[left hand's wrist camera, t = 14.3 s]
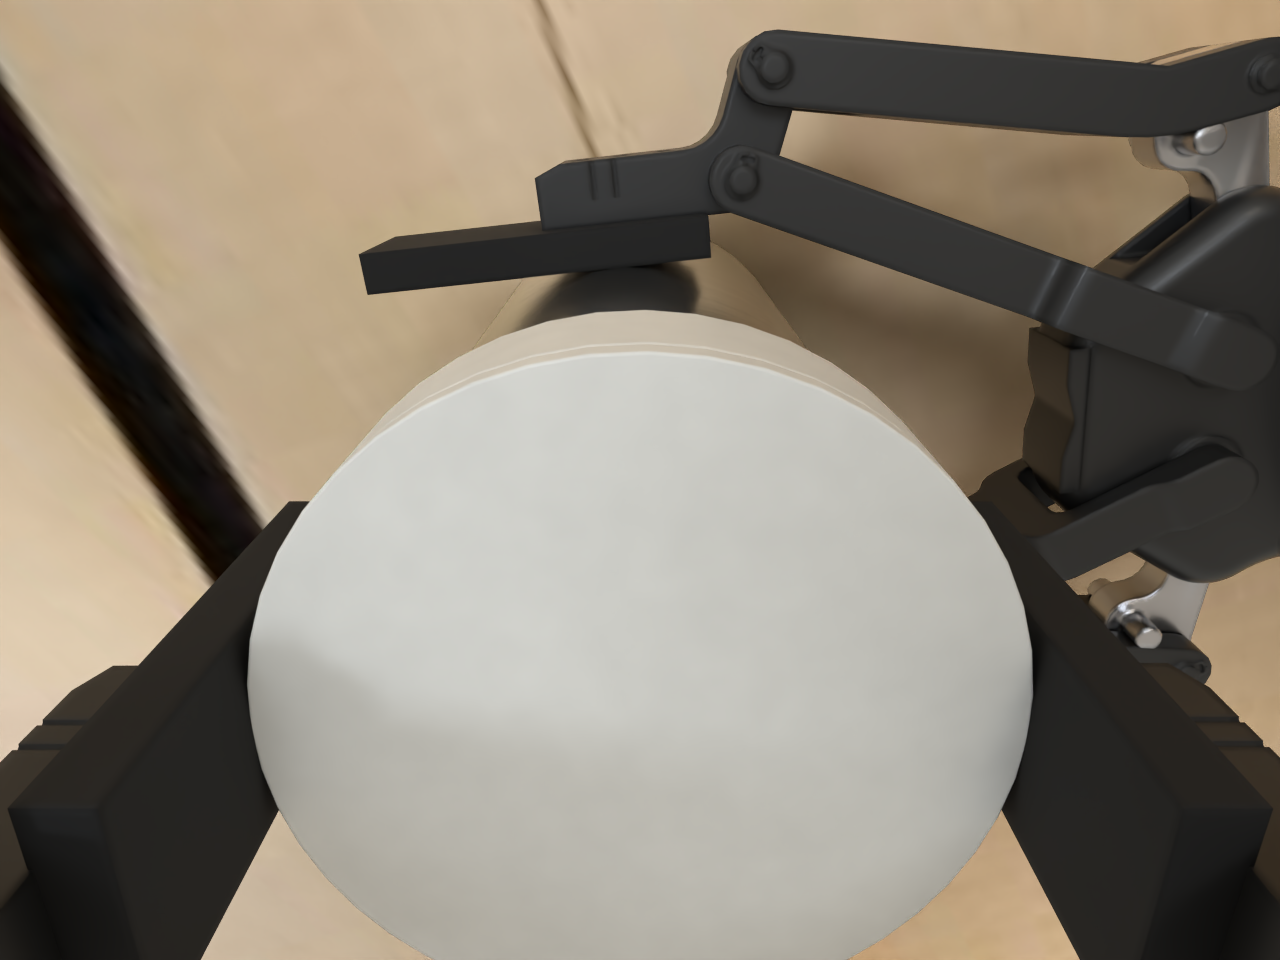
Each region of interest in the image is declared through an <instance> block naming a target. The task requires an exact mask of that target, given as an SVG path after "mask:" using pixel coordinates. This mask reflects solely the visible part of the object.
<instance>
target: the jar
mask: <svg viewBox="0 0 1280 960" xmlns="http://www.w3.org/2000/svg"><path fill="white" fill-rule="evenodd" d="M710 246H711V258H706V259H696V260H687V261H678V262H668V263H659V264H650V265H641V266H631V267H620V268H613V269H603V270H594V271H585V272H575V273H566V274H557V275H547V276H538V277H529V278H524V279H523V280H522V282H521V283H520V285H519V286H518V287H517V289H516V290H515V291H514V293H513V294H512V296H511V297H510V298H509V300H508V301H507V302H506V304H505V305H504V307H503V308H502V309H501V311H500V312H499V313H498V315H497V316H496V317H495V319H494V320H493V322H492V323H491V324H490V326H489V327H488V328H487V330H486V331H485V333H484V334H483V335H482V337H481V338H480V339H479V341H478V342H477V344H476V345H475V346H474V348H473V349H472V350H474V349H476V348H478V347H480V346H482V345H484V344H487V343H489V342H491V341H493V340H495V339H497V338H499V337H501V336H504V335H507V334H510V333H513V332H516V331H520V330H523V329H526V328H529V327H532V326H535V325H538V324H541V323H544V322H547V321H552V320H558V319H563V318H569V317H574V316H580V315H585V314H591V313H596V312H615V311H635V310H653V311H665V312H678V313H690V314H698V315H703V316H707V317H712V318H717V319H721V320H726V321H731V322H735V323H740V324H744V325H747V326H750V327H753V328H756V329H758V330H761V331H764V332H767V333H769V334H772V335H775V336H778V337H781V338H783V339H786V340H789V341H791V342H793V343H795V344H797V345H799V346H801V347H803V348H804V349H806V350H808V349H807V348H806V347H805V345H804V344H803V343H802V341H801V340H800V338H799V337H798V336H797V334H796V333H795V332H794V330H793V329H792V327H791V326H790V325H789V323H788V322H787V321H786V319H785V318H784V317H783V315H782V314H781V312H780V311H779V310H778V308H777V307H776V306H775V304H774V303H773V301H772V300H771V299H770V297H769V296H768V295H767V293H766V292H765V290H764V289H763V288H762V286H761V285H760V284H759V282H758V281H757V280H756V278H755V277H754V276H753V275H752V273H751V272H750V271H749V270H748V269H747V268H746V267H745V266H744V265H743V264H742V263H741V262H740V261H739V260H737V259H736V258H735V257H733V256H732V255H731V254H730V253H728V252H727V251H726V250H724V249H723V248H721V247H720V246H718V245H716V244H714V243H713V242H711V241H710ZM472 350H471V351H472Z"/></svg>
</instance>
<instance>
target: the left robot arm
mask: <svg viewBox="0 0 1280 960" xmlns="http://www.w3.org/2000/svg"><path fill="white" fill-rule="evenodd" d="M309 502H310V501H289V502H288V503H287V504H286V505H285V507H284V508H283V509H282V510H281V511H280V512H279V513H278V514H277V515H276V516H275V517H274V518H273V520H272V521H271V522H270V523H269V524H268V525H267V526H266V527H265V528H264V529H263V530H262V532H261V533H260V534H259V535H258V536H257V537H256V538H255V539H254V540H253V541H252V542H251V544H250V545H249V546H248V547H247V548H246V549H245V550H244V551H243V552H242V553H241V554H240V556H239V557H238V558H237V559H236V560H235V561H234V562H233V563H232V564H231V565H230V566H229V567H228V569H227V570H226V571H225V572H224V573H223V574H222V575H221V576H220V577H219V578H218V579H217V581H216V582H215V583H214V584H213V585H212V586H211V587H210V588H209V589H208V590H207V591H206V593H205V594H204V595H203V596H202V597H201V598H200V599H199V600H198V601H197V602H196V603H195V605H194V606H193V607H192V608H191V609H190V610H189V611H188V612H187V613H186V614H185V615H184V616H183V618H182V619H181V620H180V621H179V622H178V623H177V624H176V625H175V626H174V627H173V628H172V630H171V631H170V632H169V633H168V634H167V635H166V636H165V637H164V638H163V639H162V640H161V642H160V643H159V644H158V645H157V646H156V647H155V648H154V649H153V650H152V651H151V652H150V654H149V655H148V656H147V657H146V658H145V659H144V660H143V661H142V662H141V663H140V664H139V665H138V666H112V667H110V668H109V669H107V670H105V671H104V672H102V673H100V674H99V675H97V676H95V677H94V678H92V679H90V680H89V681H87V682H85V683H84V684H82V685H80V686H79V687H77V688H75V689H74V690H72V691H71V692H70V693H69V694H68V695H67V696H66V697H65V698H64V699H63V700H62V701H61V702H60V703H59V704H58V705H57V706H56V707H55V708H54V709H53V710H52V711H51V712H50V713H49V714H48V715H47V716H46V717H45V718H44V719H43V724H42V726H36V727H35V728H34V729H33V730H32V731H31V732H30V733H29V734H28V735H27V736H26V737H25V738H24V739H23V740H22V741H21V742H20V743H19V748H18V750H12V751H11V752H10V753H9V754H8V755H7V756H6V757H5V758H4V759H3V760H2V761H1V762H0V960H201V958H202V956H203V954H204V952H205V950H206V948H207V947H208V945H209V943H210V941H211V939H212V937H213V935H214V933H215V931H216V929H217V927H218V926H219V924H220V922H221V920H222V918H223V916H224V914H225V912H226V910H227V908H228V906H229V904H230V903H231V901H232V899H233V897H234V895H235V893H236V891H237V889H238V887H239V885H240V883H241V882H242V880H243V878H244V876H245V874H246V872H247V870H248V868H249V866H250V864H251V862H252V860H253V859H254V857H255V855H256V853H257V851H258V849H259V847H260V845H261V843H262V841H263V839H264V838H265V836H266V834H267V832H268V830H269V828H270V826H271V824H272V822H273V820H274V818H275V816H276V815H277V813H278V811H279V809H278V807H277V805H276V802H275V800H274V797H273V795H272V793H271V790H270V788H269V785H268V783H267V781H266V778H265V776H264V773H263V771H262V768H261V764H260V761H259V757H258V753H257V749H256V744H255V739H254V734H253V729H252V724H251V718H250V710H249V700H248V689H247V677H248V661H249V645H250V637H251V632H252V628H253V624H254V619H255V615H256V610H257V606H258V602H259V597H260V594H261V592H262V589H263V587H264V584H265V582H266V579H267V577H268V574H269V572H270V569H271V567H272V564H273V562H274V559H275V557H276V554H277V552H278V550H279V549H280V547H281V545H282V544H283V542H284V540H285V539H286V537H287V535H288V534H289V532H290V530H291V529H292V527H293V525H294V524H295V522H296V520H297V519H298V517H299V515H300V514H301V512H302V511H303V509H304V508H305V507H306V506H307V505H308V503H309ZM970 502H971V503H972V504H973V506H974V507H975V508H976V510H977V511H978V512H979V513H980V515H981V516H982V517H983V519H984V520H985V522H986V523H987V525H988V527H989V529H990V531H991V532H992V534H993V536H994V538H995V540H996V541H997V543H998V545H999V547H1000V549H1001V551H1002V552H1003V554H1004V556H1005V558H1006V560H1007V561H1008V564H1009V566H1010V569H1011V572H1012V575H1013V578H1014V580H1015V583H1016V586H1017V589H1018V591H1019V594H1020V597H1021V600H1022V602H1023V605H1024V610H1025V615H1026V621H1027V626H1028V631H1029V637H1030V642H1031V647H1032V669H1033V700H1032V707H1031V715H1030V721H1029V727H1028V732H1027V738H1026V743H1025V747H1024V751H1023V755H1022V758H1021V762H1020V765H1019V768H1018V772H1017V775H1016V779H1015V781H1014V783H1013V785H1012V787H1011V790H1010V792H1009V794H1008V796H1007V798H1006V800H1005V803H1004V805H1003V807H1002V809H1001V810H1002V812H1003V813H1004V815H1005V817H1006V819H1007V821H1008V823H1009V825H1010V827H1011V829H1012V831H1013V833H1014V835H1015V836H1016V838H1017V840H1018V842H1019V844H1020V846H1021V848H1022V850H1023V852H1024V854H1025V856H1026V857H1027V859H1028V861H1029V863H1030V865H1031V867H1032V869H1033V871H1034V873H1035V875H1036V877H1037V879H1038V880H1039V882H1040V884H1041V886H1042V888H1043V890H1044V892H1045V894H1046V896H1047V898H1048V900H1049V901H1050V903H1051V905H1052V907H1053V909H1054V911H1055V913H1056V915H1057V917H1058V919H1059V921H1060V923H1061V924H1062V926H1063V928H1064V930H1065V932H1066V934H1067V936H1068V938H1069V940H1070V942H1071V944H1072V945H1073V947H1074V949H1075V951H1076V953H1077V955H1078V957H1079V959H1080V960H1280V757H1279V756H1278V755H1277V754H1276V753H1275V752H1274V751H1273V750H1272V749H1271V748H1270V747H1264V746H1263V740H1262V739H1261V738H1260V737H1259V736H1258V735H1257V734H1256V733H1255V732H1254V731H1253V730H1252V729H1251V728H1250V727H1249V726H1248V725H1247V724H1246V723H1240V722H1239V716H1238V715H1237V714H1236V713H1235V712H1234V711H1233V710H1232V709H1231V708H1230V707H1229V706H1228V705H1227V704H1226V703H1225V702H1224V701H1223V700H1222V699H1221V698H1220V697H1219V696H1218V695H1217V694H1216V693H1215V692H1214V691H1213V690H1212V689H1211V688H1209V687H1208V686H1206V685H1204V684H1203V683H1201V682H1199V681H1198V680H1196V679H1194V678H1193V677H1191V676H1189V675H1187V674H1186V673H1184V672H1182V671H1181V670H1179V669H1177V668H1176V667H1174V666H1172V665H1171V664H1169V663H1139V662H1138V660H1137V659H1136V658H1135V657H1134V656H1133V655H1132V654H1131V653H1130V652H1129V651H1128V650H1127V648H1126V647H1125V646H1124V645H1123V644H1122V643H1121V642H1120V641H1119V640H1118V639H1117V638H1116V636H1115V635H1114V634H1113V633H1112V632H1111V631H1110V630H1109V629H1108V628H1107V627H1106V626H1105V625H1104V623H1103V622H1102V621H1101V620H1100V619H1099V618H1098V617H1097V616H1096V615H1095V614H1094V613H1093V611H1092V610H1091V609H1090V608H1089V607H1088V606H1087V605H1086V604H1085V603H1084V602H1083V601H1082V599H1081V598H1080V597H1079V596H1078V595H1077V594H1076V593H1075V592H1074V591H1073V590H1072V589H1071V587H1070V586H1069V585H1068V584H1067V583H1066V582H1065V581H1064V580H1063V579H1062V578H1061V577H1060V575H1059V574H1058V573H1057V572H1056V571H1055V570H1054V569H1053V568H1052V567H1051V566H1050V565H1049V564H1048V562H1047V561H1046V560H1045V559H1044V558H1043V557H1042V556H1041V555H1040V554H1039V553H1038V552H1037V550H1036V549H1035V548H1034V547H1033V546H1032V545H1031V544H1030V543H1029V542H1028V541H1027V540H1026V538H1025V537H1024V536H1023V535H1022V534H1021V533H1020V532H1019V531H1018V530H1017V529H1016V528H1015V526H1014V525H1013V524H1012V523H1011V522H1010V521H1009V520H1008V519H1007V518H1006V517H1005V516H1004V515H1003V513H1002V512H1001V511H1000V510H999V509H998V508H997V507H996V506H995V505H994V504H993V503H992V501H970Z"/></svg>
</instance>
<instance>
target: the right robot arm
mask: <svg viewBox="0 0 1280 960" xmlns="http://www.w3.org/2000/svg"><path fill="white" fill-rule="evenodd" d="M1278 106H1280V37H1271V38H1262V39H1254V40H1247V41H1239V42H1231V43H1224V44H1216V45H1208V46H1201V47H1193V48H1188V49H1184V50H1181V51H1177V52H1173V53H1170V54H1166V55H1163V56H1159V57H1156V58H1152V59H1149V60H1145V61H1142V62H1138V63H1134V62H1123V61H1112V60H1101V59H1091V58H1080V57H1069V56H1058V55H1047V54H1036V53H1026V52H1015V51H1004V50H993V49H982V48H971V47H961V46H950V45H939V44H928V43H917V42H906V41H896V40H885V39H874V38H863V37H852V36H841V35H831V34H820V33H809V32H798V31H787V30H772V31H764V32H763V33H761V34H759V35H758V36H755V37H754V38H753V39H751V40H750V41H748V42H747V43H746V44H744V45H743V46H741V47H740V48H739V49H738V50H737V51H736V52H735V54H734V55H733V56H732V58H731V59H730V62H729V66H728V69H727V79H726V82H725V86H724V90H723V94H722V98H721V102H720V106H719V109H718V113H717V116H716V119H715V122H714V124H713V126H712V128H711V129H710V131H709V132H708V133H707V134H706V135H705V136H704V137H703V138H702V139H701V140H700V141H698V142H696V143H694V144H693V145H691V146H687V147H682V148H675V149H666V150H657V151H648V152H639V153H630V154H622V155H613V156H604V157H596V158H586V159H577V160H568V161H564V162H563V163H561V164H559V165H557V166H556V167H554V168H552V169H550V170H549V171H547V172H545V173H543V174H542V175H540V176H538V177H536V178H535V182H536V190H537V197H538V204H539V211H540V218H541V221H535V222H526V223H517V224H508V225H499V226H489V227H480V228H471V229H462V230H453V231H444V232H435V233H426V234H417V235H407V236H398V237H394V238H392V239H390V240H388V241H386V242H384V243H382V244H379V245H377V246H375V247H373V248H371V249H369V250H367V251H365V252H363V253H361V254H359V257H360V262H361V267H362V271H363V276H364V281H365V285H366V290H367V294H368V295H371V294H380V293H389V292H399V291H408V290H417V289H426V288H436V287H445V286H454V285H464V284H473V283H482V282H492V281H501V280H510V279H520V278H529V277H538V276H547V275H557V274H566V273H575V272H585V271H594V270H603V269H613V268H620V267H631V266H641V265H650V264H659V263H668V262H678V261H687V260H696V259H706V258H711V246H710V232H709V219H708V215H713V214H722V213H733V214H736V215H739V216H742V217H745V218H747V219H750V220H753V221H756V222H759V223H762V224H765V225H767V226H770V227H773V228H776V229H779V230H782V231H785V232H787V233H790V234H793V235H796V236H799V237H802V238H805V239H807V240H810V241H813V242H816V243H819V244H822V245H824V246H827V247H830V248H833V249H836V250H839V251H842V252H844V253H847V254H850V255H853V256H856V257H859V258H862V259H864V260H867V261H870V262H873V263H876V264H879V265H882V266H884V267H887V268H890V269H893V270H896V271H899V272H902V273H904V274H907V275H910V276H913V277H916V278H919V279H922V280H924V281H927V282H930V283H933V284H936V285H939V286H941V287H944V288H947V289H950V290H953V291H956V292H959V293H961V294H964V295H967V296H970V297H973V298H976V299H979V300H981V301H984V302H987V303H990V304H993V305H996V306H999V307H1001V308H1004V309H1007V310H1010V311H1013V312H1016V313H1019V314H1021V315H1024V316H1027V317H1030V318H1032V319H1035V320H1037V321H1040V322H1042V323H1041V326H1040V327H1034V328H1029V347H1028V365H1029V370H1030V374H1031V378H1032V383H1033V387H1034V391H1035V397H1034V401H1033V404H1032V407H1031V410H1030V413H1029V416H1028V419H1027V422H1026V425H1025V428H1024V438H1023V456H1022V458H1021V459H1019V460H1017V461H1015V462H1013V463H1011V464H1009V465H1007V466H1005V467H1003V468H1002V469H1000V470H998V471H996V472H994V473H992V474H991V475H989V476H987V477H986V478H985V480H984V481H983V482H982V484H981V487H980V489H979V490H978V491H977V492H976V493H975V494H973V495H971V496H969V497H967V498H968V499H969V501H992V503H993V504H994V505H995V506H996V507H997V508H998V509H999V510H1000V511H1001V512H1002V513H1003V515H1004V516H1005V517H1006V518H1007V519H1008V520H1009V521H1010V522H1011V523H1012V524H1013V525H1014V526H1015V528H1016V529H1017V530H1018V531H1019V532H1020V533H1021V534H1022V535H1023V536H1024V537H1025V538H1026V540H1027V541H1028V542H1029V543H1030V544H1031V545H1032V546H1033V547H1034V548H1035V549H1036V550H1037V552H1038V553H1039V554H1040V555H1041V556H1042V557H1043V558H1044V559H1045V560H1046V561H1047V562H1048V564H1049V565H1050V566H1051V567H1052V568H1053V569H1054V570H1055V571H1056V572H1057V573H1058V574H1059V575H1060V577H1061V578H1062V579H1063V580H1064V581H1066V580H1069V579H1072V578H1075V577H1077V576H1079V575H1082V574H1084V573H1086V572H1088V571H1090V570H1092V569H1094V568H1096V567H1098V566H1101V565H1103V564H1105V563H1107V562H1109V561H1111V560H1113V559H1115V558H1117V557H1119V556H1122V555H1124V554H1126V553H1128V552H1131V553H1133V554H1135V555H1137V556H1138V557H1140V558H1142V559H1143V560H1145V563H1144V565H1143V567H1142V568H1141V569H1140V570H1139V571H1138V572H1137V573H1136V574H1134V575H1133V576H1132V577H1129V578H1127V579H1125V580H1120V581H1115V582H1110V581H1109V580H1107V579H1101V578H1100V579H1097V580H1094V581H1093V582H1092V583H1091V584H1090V585H1089V587H1088V595H1078V596H1079V597H1080V598H1081V599H1082V601H1083V602H1084V603H1085V604H1086V605H1087V606H1088V607H1089V608H1090V609H1091V610H1092V611H1093V613H1094V614H1095V615H1096V616H1097V617H1098V618H1099V619H1100V620H1101V621H1102V622H1103V623H1104V625H1105V626H1106V627H1107V628H1108V629H1109V630H1110V631H1111V632H1112V633H1113V634H1114V635H1115V636H1116V638H1117V639H1118V640H1119V641H1120V642H1121V643H1122V644H1123V645H1124V646H1125V647H1126V648H1127V650H1128V651H1129V652H1130V653H1131V654H1132V655H1133V656H1134V657H1135V658H1136V659H1137V660H1138V662H1139V663H1169V664H1171V665H1172V666H1174V667H1176V668H1177V669H1179V670H1181V671H1182V672H1184V673H1186V674H1187V675H1189V676H1191V677H1193V678H1194V679H1196V680H1198V681H1199V682H1201V683H1203V684H1205V683H1206V681H1207V679H1208V678H1209V676H1210V674H1211V663H1210V661H1209V658H1208V657H1207V656H1206V655H1205V654H1204V653H1203V652H1202V651H1201V650H1199V649H1198V648H1197V647H1196V646H1195V645H1194V644H1193V643H1192V642H1191V637H1192V634H1193V630H1194V627H1195V624H1196V621H1197V618H1198V615H1199V612H1200V609H1201V606H1202V603H1203V600H1204V597H1205V594H1206V591H1207V588H1208V585H1209V583H1211V582H1217V581H1221V580H1224V579H1227V578H1229V577H1232V576H1234V575H1235V574H1237V573H1239V572H1241V571H1243V570H1244V569H1246V568H1248V567H1250V566H1252V565H1255V564H1257V563H1259V562H1262V561H1265V560H1268V559H1271V558H1274V557H1279V556H1280V188H1278V187H1275V186H1269V114H1268V111H1269V110H1271V109H1274V108H1276V107H1278ZM792 111H804V112H815V113H826V114H837V115H848V116H859V117H871V118H882V119H893V120H904V121H915V122H926V123H938V124H949V125H960V126H971V127H982V128H993V129H1005V130H1016V131H1027V132H1038V133H1049V134H1060V135H1083V136H1111V137H1129V143H1130V146H1131V148H1132V152H1133V155H1134V156H1135V158H1136V160H1137V161H1138V162H1139V163H1141V164H1142V165H1143V166H1145V167H1148V168H1152V169H1162V170H1172V171H1177V172H1179V173H1180V174H1181V175H1182V176H1183V177H1184V178H1185V180H1186V181H1187V183H1188V186H1189V191H1190V193H1189V194H1188V195H1186V196H1185V197H1183V198H1182V199H1181V200H1179V201H1178V202H1177V203H1176V204H1174V205H1173V206H1172V207H1170V208H1169V209H1168V210H1167V211H1165V212H1164V213H1163V214H1162V215H1160V216H1159V217H1158V218H1156V219H1155V220H1154V221H1153V222H1151V223H1150V224H1149V225H1147V226H1146V227H1145V228H1144V229H1142V230H1141V231H1140V232H1139V233H1137V234H1136V235H1135V236H1133V237H1132V238H1131V239H1130V240H1128V241H1127V242H1126V243H1124V244H1123V245H1122V246H1121V247H1119V248H1118V249H1117V250H1115V251H1114V252H1113V253H1112V254H1110V255H1109V256H1108V257H1107V258H1105V259H1104V260H1103V261H1101V262H1100V263H1099V264H1098V265H1096V266H1095V267H1094V268H1090V267H1087V266H1084V265H1082V264H1079V263H1076V262H1073V261H1070V260H1067V259H1064V258H1061V257H1059V256H1056V255H1053V254H1050V253H1047V252H1045V251H1042V250H1039V249H1036V248H1034V247H1031V246H1028V245H1025V244H1023V243H1020V242H1017V241H1014V240H1011V239H1009V238H1006V237H1003V236H1000V235H998V234H995V233H992V232H989V231H986V230H984V229H981V228H978V227H975V226H973V225H970V224H967V223H964V222H962V221H959V220H956V219H953V218H950V217H948V216H945V215H942V214H939V213H937V212H934V211H931V210H928V209H926V208H923V207H920V206H917V205H914V204H912V203H909V202H906V201H903V200H901V199H898V198H895V197H892V196H889V195H887V194H884V193H881V192H878V191H876V190H873V189H870V188H867V187H865V186H862V185H859V184H856V183H853V182H851V181H848V180H845V179H842V178H840V177H837V176H834V175H831V174H829V173H826V172H823V171H820V170H817V169H815V168H812V167H809V166H806V165H804V164H801V163H798V162H795V161H792V160H790V159H787V158H784V157H781V156H779V155H780V151H781V148H782V144H783V141H784V137H785V134H786V130H787V127H788V124H789V120H790V117H791V113H792ZM1054 503H1056V504H1057V505H1058V506H1059V507H1060V508H1062V509H1063V510H1064V511H1065V512H1056V513H1055V512H1053V511H1051V510H1049V509H1048V508H1047V507H1048V506H1050V505H1052V504H1054Z"/></svg>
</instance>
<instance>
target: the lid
mask: <svg viewBox="0 0 1280 960" xmlns="http://www.w3.org/2000/svg"><path fill="white" fill-rule="evenodd" d="M247 689H248V700H249V710H250V718H251V724H252V729H253V734H254V739H255V744H256V749H257V753H258V757H259V761H260V764H261V768H262V771H263V773H264V776H265V778H266V781H267V783H268V785H269V788H270V790H271V793H272V795H273V797H274V800H275V802H276V805H277V807H278V809H279V811H280V812H281V814H282V816H283V817H284V819H285V821H286V822H287V824H288V826H289V827H290V829H291V831H292V833H293V834H294V836H295V838H296V839H297V841H298V843H299V844H300V846H301V847H302V848H303V849H304V851H305V852H306V853H307V854H308V856H309V857H310V858H311V859H312V861H313V862H314V863H315V865H316V866H317V867H318V868H319V870H320V871H321V872H322V873H323V875H324V876H325V877H326V878H327V879H328V880H329V881H330V882H331V883H332V884H333V885H334V886H335V887H336V888H337V889H338V890H339V891H340V892H341V893H342V894H343V895H344V896H345V897H346V898H347V899H348V900H349V901H350V902H351V903H352V904H353V905H354V906H355V907H356V908H358V909H359V910H360V911H361V912H363V913H364V914H365V915H367V916H368V917H369V918H370V919H372V920H373V921H374V922H375V923H377V924H378V925H379V926H381V927H382V928H383V929H384V930H386V931H387V932H388V933H390V934H391V935H393V936H395V937H396V938H398V939H399V940H401V941H403V942H404V943H406V944H408V945H409V946H411V947H412V948H414V949H416V950H417V951H419V952H421V953H422V954H424V955H426V956H427V957H430V958H432V959H434V960H847V959H849V958H851V957H853V956H854V955H856V954H858V953H859V952H861V951H863V950H865V949H866V948H868V947H870V946H872V945H873V944H875V943H877V942H878V941H880V940H882V939H883V938H885V937H886V936H887V935H889V934H890V933H892V932H893V931H894V930H896V929H897V928H898V927H900V926H901V925H902V924H904V923H905V922H907V921H908V920H909V919H911V918H912V917H913V916H915V915H916V914H917V913H918V912H919V911H921V910H922V909H923V908H924V907H925V906H926V905H927V904H928V903H929V902H930V901H931V900H932V899H933V898H934V897H936V896H937V895H938V894H939V893H940V892H941V891H942V890H943V889H944V888H945V887H946V886H947V885H948V884H949V883H950V882H951V881H952V880H953V878H954V877H955V876H956V875H957V874H958V872H959V871H960V870H961V869H962V868H963V866H964V865H965V864H966V863H967V862H968V860H969V859H970V858H971V857H972V856H973V855H974V853H975V852H976V851H977V849H978V847H979V846H980V844H981V843H982V841H983V840H984V838H985V836H986V835H987V833H988V832H989V830H990V829H991V827H992V825H993V824H994V822H995V821H996V819H997V818H998V816H999V814H1000V811H1001V809H1002V807H1003V805H1004V803H1005V800H1006V798H1007V796H1008V794H1009V792H1010V790H1011V787H1012V785H1013V783H1014V781H1015V779H1016V775H1017V772H1018V768H1019V765H1020V762H1021V758H1022V755H1023V751H1024V747H1025V743H1026V738H1027V732H1028V727H1029V721H1030V715H1031V707H1032V700H1033V669H1032V647H1031V642H1030V637H1029V631H1028V626H1027V621H1026V615H1025V610H1024V605H1023V602H1022V600H1021V597H1020V594H1019V591H1018V589H1017V586H1016V583H1015V580H1014V578H1013V575H1012V572H1011V569H1010V566H1009V564H1008V561H1007V560H1006V558H1005V556H1004V554H1003V552H1002V551H1001V549H1000V547H999V545H998V543H997V541H996V540H995V538H994V536H993V534H992V532H991V531H990V529H989V527H988V525H987V523H986V522H985V520H984V519H983V517H982V516H981V515H980V513H979V512H978V511H977V510H976V508H975V507H974V506H973V504H972V503H971V502H970V501H969V499H968V498H967V497H966V495H965V494H964V493H963V492H962V490H961V489H960V488H959V486H958V485H957V484H956V483H955V481H954V480H953V479H952V478H951V477H950V475H949V474H948V473H947V472H946V471H945V470H944V469H943V467H942V466H941V465H940V464H939V463H938V462H937V460H936V459H935V458H934V457H933V456H932V455H931V454H930V452H929V451H928V450H927V449H926V448H925V447H924V446H923V444H922V443H921V442H920V441H919V440H918V439H917V437H916V436H915V435H914V434H913V433H912V432H911V431H910V429H909V428H908V427H907V426H906V425H905V424H904V423H903V421H902V420H901V419H900V418H899V417H898V416H897V415H895V414H894V413H893V412H892V411H891V410H890V409H889V408H888V407H887V406H886V405H885V404H884V403H883V402H882V401H881V400H880V399H879V398H878V397H877V396H876V395H875V394H873V393H872V392H871V391H870V390H869V389H868V388H866V387H865V386H864V385H862V384H861V383H859V382H858V381H857V380H855V379H854V378H852V377H851V376H850V375H848V374H847V373H845V372H844V371H843V370H841V369H840V368H838V367H837V366H836V365H834V364H833V363H831V362H829V361H827V360H826V359H824V358H822V357H820V356H818V355H816V354H814V353H812V352H810V351H808V350H806V349H804V348H803V347H801V346H799V345H797V344H795V343H793V342H791V341H789V340H786V339H783V338H781V337H778V336H775V335H772V334H769V333H767V332H764V331H761V330H758V329H756V328H753V327H750V326H747V325H744V324H740V323H735V322H731V321H726V320H721V319H717V318H712V317H707V316H703V315H698V314H690V313H678V312H665V311H653V310H635V311H615V312H596V313H591V314H585V315H580V316H574V317H569V318H563V319H558V320H552V321H547V322H544V323H541V324H538V325H535V326H532V327H529V328H526V329H523V330H520V331H516V332H513V333H510V334H507V335H504V336H501V337H499V338H497V339H495V340H493V341H491V342H489V343H487V344H484V345H482V346H480V347H478V348H476V349H474V350H472V351H470V352H468V353H466V354H464V355H462V356H460V357H458V358H456V359H455V360H453V361H452V362H450V363H449V364H447V365H446V366H444V367H443V368H441V369H440V370H438V371H437V372H435V373H434V374H432V375H431V376H429V377H428V378H426V379H425V380H423V381H422V382H420V383H419V384H418V385H417V386H415V387H414V388H413V389H412V390H411V391H410V392H409V393H408V394H407V395H405V396H404V397H403V398H402V399H401V400H400V401H399V402H398V403H396V404H395V405H394V406H393V407H392V408H391V409H390V410H389V411H387V412H386V413H385V415H384V416H383V417H382V418H381V419H380V420H379V421H378V423H377V424H376V425H375V426H374V427H373V428H372V430H371V431H370V432H369V433H368V434H367V435H366V436H365V438H364V439H363V440H362V441H361V442H360V443H359V445H358V446H357V447H356V448H355V449H354V450H353V451H352V453H351V454H350V455H349V456H348V457H347V458H346V460H345V461H344V462H343V463H342V464H341V465H340V466H339V468H338V469H337V470H336V471H335V472H334V473H333V475H332V476H331V477H330V478H329V479H328V481H327V482H326V483H325V484H324V485H323V487H322V488H321V489H320V490H319V491H318V493H317V494H316V495H315V496H314V497H313V499H312V500H311V501H310V502H309V503H308V505H307V506H306V507H305V508H304V509H303V511H302V512H301V514H300V515H299V517H298V519H297V520H296V522H295V524H294V525H293V527H292V529H291V530H290V532H289V534H288V535H287V537H286V539H285V540H284V542H283V544H282V545H281V547H280V549H279V550H278V552H277V554H276V557H275V559H274V562H273V564H272V567H271V569H270V572H269V574H268V577H267V579H266V582H265V584H264V587H263V589H262V592H261V594H260V597H259V602H258V606H257V610H256V615H255V619H254V624H253V628H252V632H251V637H250V645H249V661H248V677H247Z"/></svg>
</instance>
